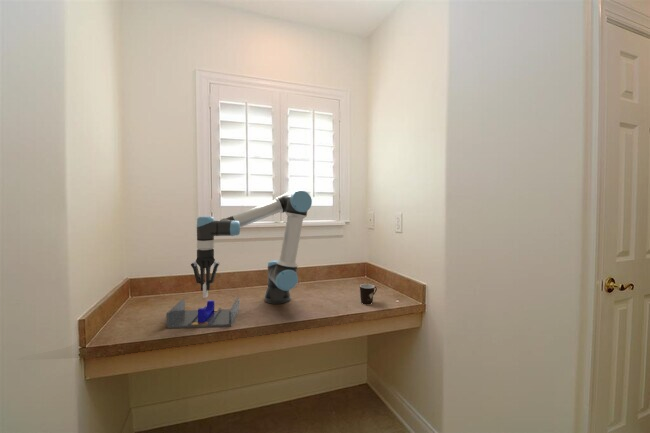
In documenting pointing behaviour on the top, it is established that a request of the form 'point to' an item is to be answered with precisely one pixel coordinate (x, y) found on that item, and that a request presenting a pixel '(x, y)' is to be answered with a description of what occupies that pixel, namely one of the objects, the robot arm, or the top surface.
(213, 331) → the top surface
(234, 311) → the desk rack
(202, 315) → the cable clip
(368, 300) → the coffee mug
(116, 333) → the top surface
